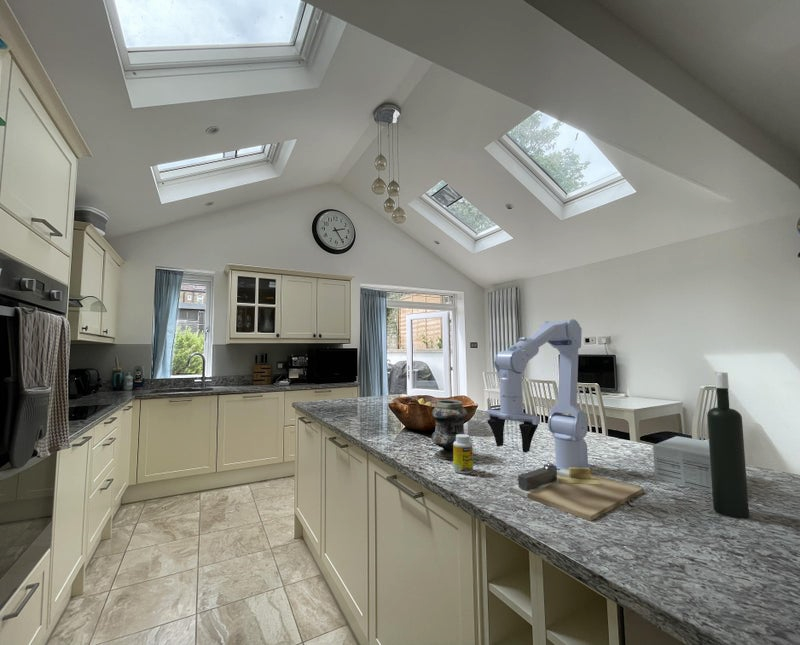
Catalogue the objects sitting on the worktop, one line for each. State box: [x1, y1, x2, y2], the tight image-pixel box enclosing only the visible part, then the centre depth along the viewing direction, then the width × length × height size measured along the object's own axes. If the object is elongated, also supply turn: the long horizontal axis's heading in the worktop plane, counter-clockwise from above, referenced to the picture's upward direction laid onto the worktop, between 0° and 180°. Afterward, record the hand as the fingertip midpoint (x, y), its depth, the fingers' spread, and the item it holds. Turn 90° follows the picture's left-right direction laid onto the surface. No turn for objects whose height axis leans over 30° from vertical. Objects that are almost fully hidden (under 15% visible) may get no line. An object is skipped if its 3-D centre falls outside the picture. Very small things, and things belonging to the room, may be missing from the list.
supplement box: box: [652, 435, 712, 493], centre depth 101 cm, size 17×13×9 cm
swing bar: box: [517, 462, 558, 490], centre depth 95 cm, size 14×3×4 cm, turn 126°
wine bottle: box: [706, 371, 750, 520], centre depth 81 cm, size 6×6×30 cm
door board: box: [509, 467, 645, 522], centre depth 92 cm, size 26×20×4 cm
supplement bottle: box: [453, 433, 474, 475], centre depth 108 cm, size 6×6×10 cm
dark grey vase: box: [431, 399, 468, 461], centre depth 125 cm, size 12×12×18 cm
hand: (512, 448), depth 97 cm, fingers open, 7 cm apart
